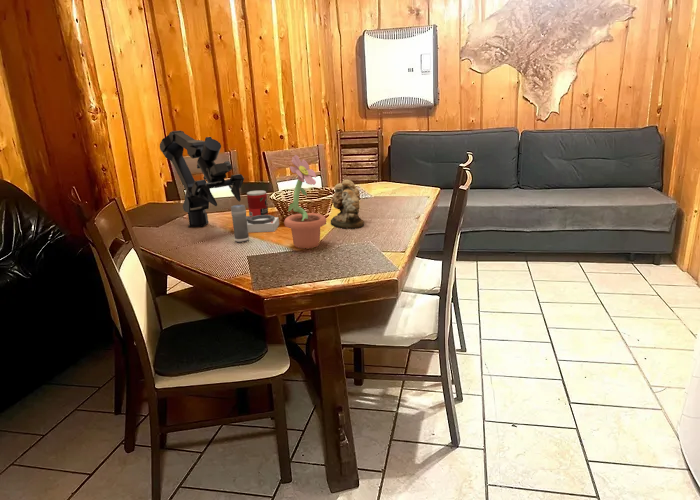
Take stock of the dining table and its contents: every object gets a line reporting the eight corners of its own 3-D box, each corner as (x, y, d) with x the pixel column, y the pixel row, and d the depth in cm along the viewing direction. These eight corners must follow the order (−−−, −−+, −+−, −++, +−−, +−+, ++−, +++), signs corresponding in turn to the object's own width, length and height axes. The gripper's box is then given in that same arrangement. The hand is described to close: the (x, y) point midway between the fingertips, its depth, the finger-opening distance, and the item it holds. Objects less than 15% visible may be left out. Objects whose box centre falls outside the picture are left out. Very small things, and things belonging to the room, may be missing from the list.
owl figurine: (323, 221, 198) (320, 178, 193) (349, 217, 202) (347, 175, 197) (342, 231, 182) (340, 184, 177) (371, 226, 187) (369, 181, 182)
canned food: (265, 220, 203) (262, 193, 200) (246, 220, 205) (243, 194, 201) (271, 216, 210) (269, 190, 207) (253, 216, 212) (250, 190, 209)
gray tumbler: (233, 243, 174) (228, 207, 170) (236, 239, 179) (232, 204, 175) (247, 242, 174) (243, 207, 170) (250, 238, 178) (246, 204, 174)
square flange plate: (240, 232, 187) (238, 221, 185) (246, 225, 196) (245, 215, 195) (274, 231, 186) (273, 220, 185) (279, 224, 195) (278, 214, 194)
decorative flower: (316, 254, 157) (309, 158, 148) (277, 251, 162) (268, 158, 153) (334, 240, 170) (328, 152, 161) (297, 238, 175) (290, 152, 166)
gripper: (190, 157, 170) (209, 193, 165) (238, 151, 182) (257, 184, 177) (183, 178, 178) (202, 213, 173) (230, 171, 190) (248, 203, 185)
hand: (228, 203), depth 177 cm, fingers open, 9 cm apart
